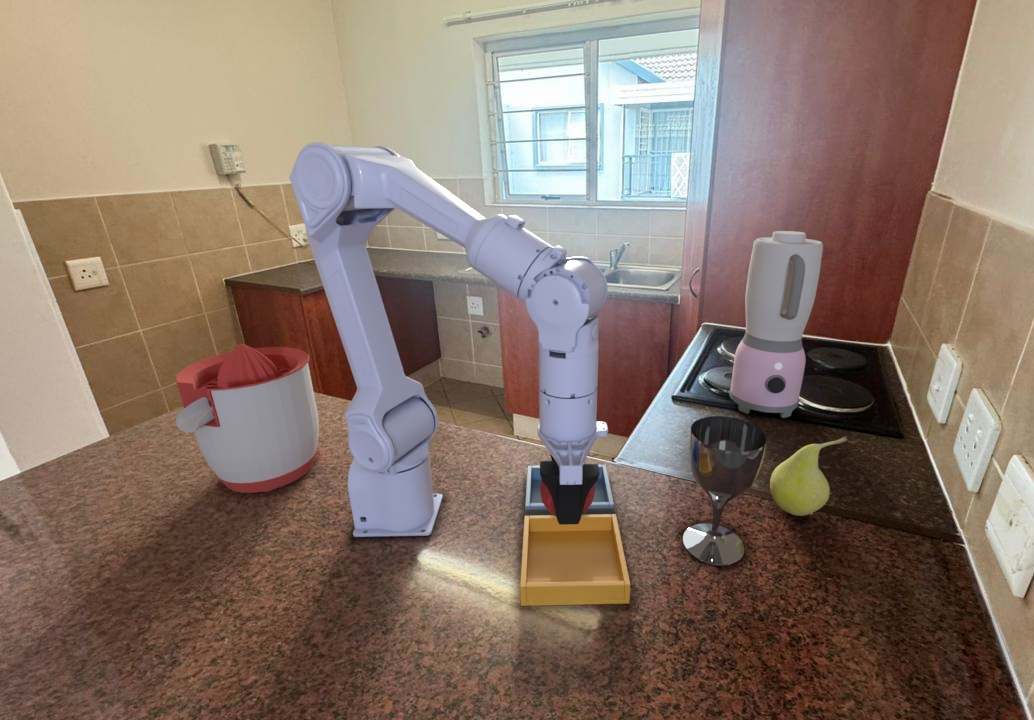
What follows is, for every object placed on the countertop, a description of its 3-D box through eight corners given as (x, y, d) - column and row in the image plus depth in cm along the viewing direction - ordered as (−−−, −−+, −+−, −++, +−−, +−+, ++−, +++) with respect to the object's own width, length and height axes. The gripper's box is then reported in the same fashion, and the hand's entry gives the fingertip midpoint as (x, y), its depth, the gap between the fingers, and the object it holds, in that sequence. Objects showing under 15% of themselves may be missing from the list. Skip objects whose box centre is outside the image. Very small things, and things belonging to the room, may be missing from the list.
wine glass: (748, 529, 62) (765, 422, 57) (748, 575, 55) (768, 457, 50) (682, 516, 65) (693, 411, 59) (675, 558, 57) (687, 444, 52)
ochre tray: (520, 606, 51) (519, 587, 50) (524, 532, 62) (524, 515, 61) (629, 603, 51) (630, 584, 51) (615, 530, 62) (616, 513, 61)
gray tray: (525, 522, 63) (525, 506, 62) (527, 480, 72) (527, 465, 71) (613, 521, 64) (614, 504, 63) (605, 479, 72) (606, 464, 71)
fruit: (770, 488, 70) (784, 411, 66) (830, 505, 67) (848, 425, 62) (762, 514, 65) (776, 433, 61) (826, 534, 61) (846, 449, 57)
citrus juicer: (169, 496, 68) (123, 359, 61) (278, 437, 84) (252, 322, 76) (249, 524, 63) (210, 378, 56) (351, 456, 78) (330, 334, 71)
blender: (724, 388, 102) (745, 228, 91) (787, 393, 100) (816, 229, 89) (737, 425, 88) (763, 238, 76) (810, 430, 86) (849, 240, 74)
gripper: (619, 420, 42) (613, 550, 47) (601, 359, 56) (598, 464, 60) (535, 421, 42) (537, 551, 47) (537, 360, 55) (539, 465, 60)
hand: (567, 502), depth 54 cm, fingers closed on onion, 6 cm apart
